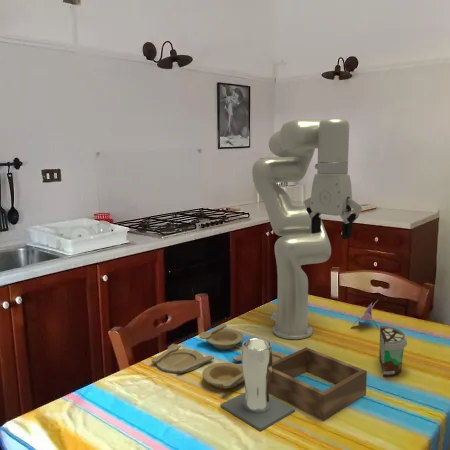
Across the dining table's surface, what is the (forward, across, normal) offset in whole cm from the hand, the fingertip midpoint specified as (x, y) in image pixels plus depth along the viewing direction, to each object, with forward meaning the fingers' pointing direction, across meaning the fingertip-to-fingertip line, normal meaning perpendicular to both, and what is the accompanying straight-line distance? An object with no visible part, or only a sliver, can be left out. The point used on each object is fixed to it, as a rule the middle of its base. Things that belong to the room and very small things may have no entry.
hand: (330, 235), depth 124 cm
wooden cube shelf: (+36, +7, -14) cm, 39 cm away
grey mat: (+36, +3, -29) cm, 46 cm away
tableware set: (+37, -20, -20) cm, 46 cm away
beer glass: (+35, +3, -29) cm, 46 cm away
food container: (+36, +13, +11) cm, 40 cm away
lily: (+36, -9, +31) cm, 49 cm away
